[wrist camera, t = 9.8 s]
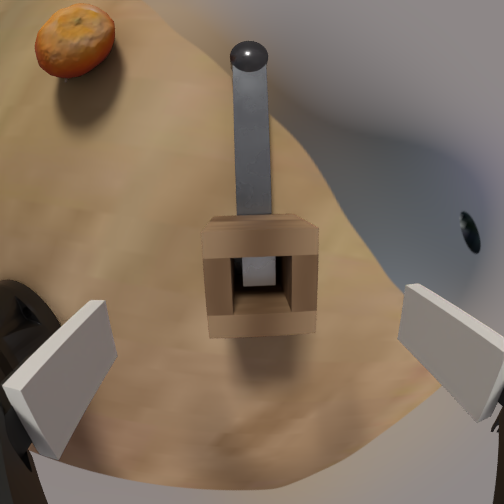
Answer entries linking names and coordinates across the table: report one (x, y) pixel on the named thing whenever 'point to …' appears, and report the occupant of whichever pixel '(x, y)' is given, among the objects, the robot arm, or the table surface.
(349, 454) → the table surface
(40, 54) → the fruit
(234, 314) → the socket collar
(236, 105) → the grey lever handle
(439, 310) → the robot arm
